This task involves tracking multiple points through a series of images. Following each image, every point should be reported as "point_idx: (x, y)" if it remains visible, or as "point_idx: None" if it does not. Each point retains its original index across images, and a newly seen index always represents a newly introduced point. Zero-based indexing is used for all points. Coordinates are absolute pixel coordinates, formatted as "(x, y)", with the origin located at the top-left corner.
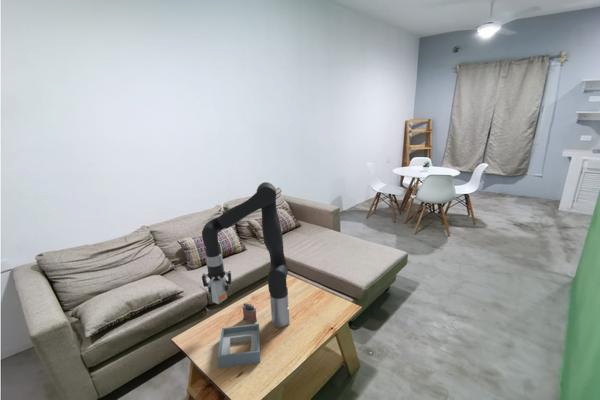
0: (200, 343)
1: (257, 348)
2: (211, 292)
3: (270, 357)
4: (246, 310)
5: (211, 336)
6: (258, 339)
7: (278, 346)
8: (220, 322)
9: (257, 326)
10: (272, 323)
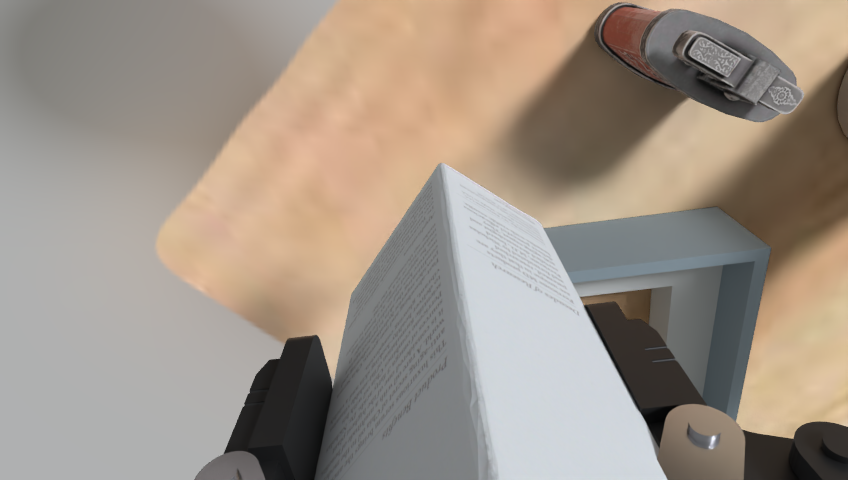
0: (314, 279)
1: None
2: (331, 411)
3: (749, 374)
4: (685, 94)
5: (367, 223)
6: (739, 384)
7: (815, 309)
8: (391, 72)
9: (753, 276)
10: (843, 118)
